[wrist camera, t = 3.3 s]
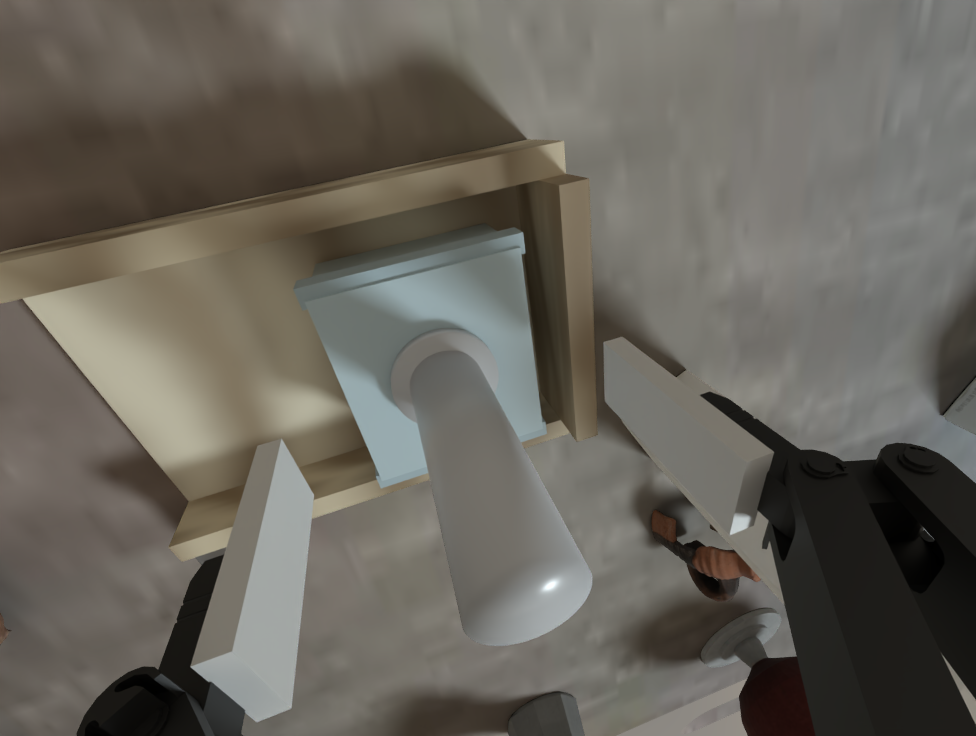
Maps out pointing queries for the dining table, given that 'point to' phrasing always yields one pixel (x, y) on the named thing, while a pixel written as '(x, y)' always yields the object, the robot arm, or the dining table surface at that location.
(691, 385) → the milk
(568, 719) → the coffeepot
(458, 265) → the cylinder on square plate
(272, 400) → the tray
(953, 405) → the tea box
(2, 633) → the decorative rock
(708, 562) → the pottery mug
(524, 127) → the dining table surface
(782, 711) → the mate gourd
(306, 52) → the dining table surface
